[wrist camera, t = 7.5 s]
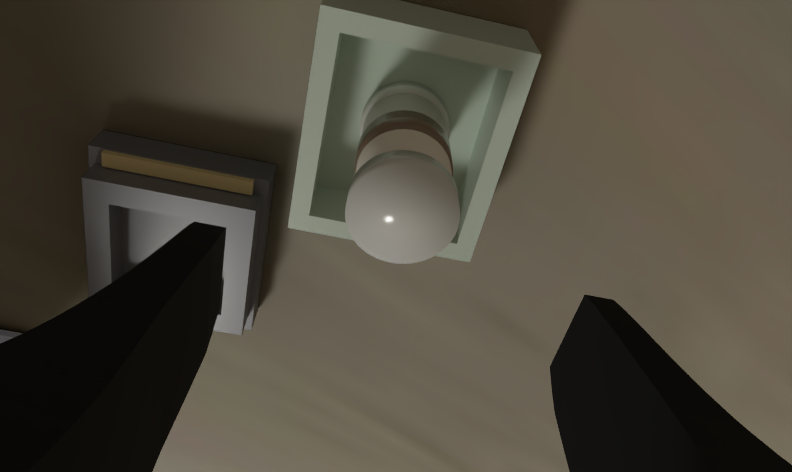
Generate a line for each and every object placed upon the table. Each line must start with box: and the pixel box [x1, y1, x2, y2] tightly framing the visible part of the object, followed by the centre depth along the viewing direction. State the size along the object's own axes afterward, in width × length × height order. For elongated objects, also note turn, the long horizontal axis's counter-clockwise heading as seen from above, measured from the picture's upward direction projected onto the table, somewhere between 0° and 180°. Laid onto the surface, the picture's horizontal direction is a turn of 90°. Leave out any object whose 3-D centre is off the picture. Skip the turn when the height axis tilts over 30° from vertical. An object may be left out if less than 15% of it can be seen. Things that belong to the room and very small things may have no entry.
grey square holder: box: [81, 130, 276, 335], centre depth 22 cm, size 7×6×2 cm
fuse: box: [345, 81, 460, 264], centre depth 18 cm, size 3×3×6 cm
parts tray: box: [288, 0, 541, 262], centre depth 20 cm, size 7×6×2 cm
